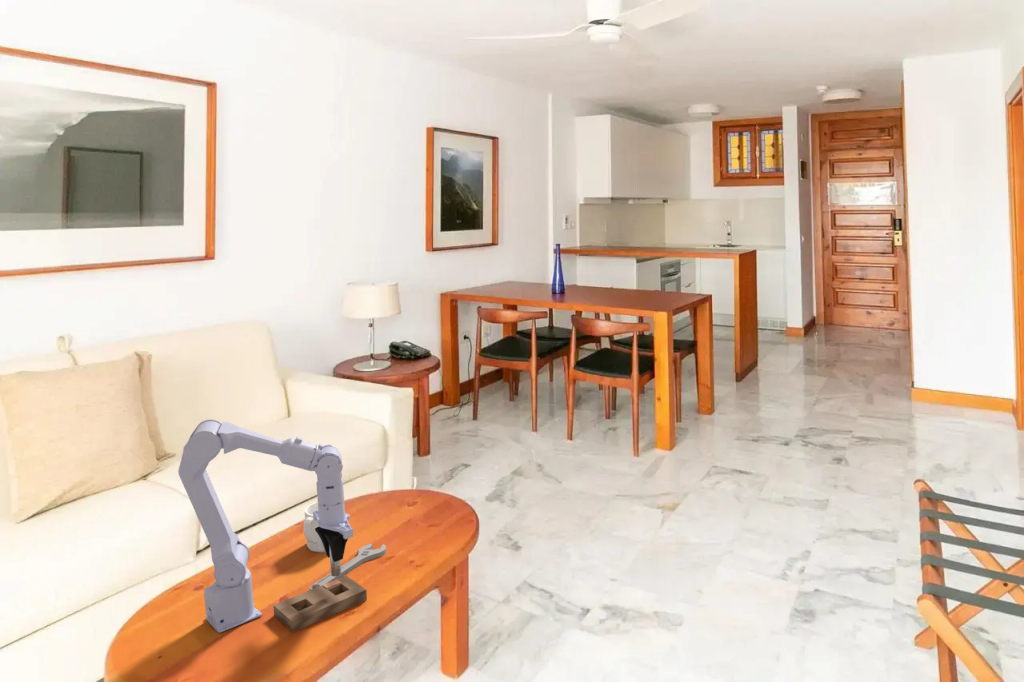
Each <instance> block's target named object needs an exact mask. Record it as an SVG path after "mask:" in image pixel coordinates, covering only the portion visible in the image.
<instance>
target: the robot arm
mask: <svg viewBox="0 0 1024 682" xmlns="http://www.w3.org/2000/svg"><path fill="white" fill-rule="evenodd" d="M238 449H242V450H243V449H244V450H247V451H251V452H257V453H260V454H261V453H262V454H265V455H270V456H275V457H277V458H278V459H279V462H280V463H281V464H283V465H287V466H290V467H293V468H298V469H302V470H305V471H309V472H314V473H315V474H316V477H317V478H316V479H317V481H316V495H317V496H316V497H317V502H318V510H316V511H313V519H314V520H317V522H318V525H319V527H317V528H315V531H316V532H317V534H318V535H319V537H320V539H321V541H322V543H323V546H324V549H325V552H324V553H325V555H326V557H327V558H328V559H330V551H329V546H330V549H331V555H332V559H333V561H334V562H336V561H339V560H340V561H342V560H343V559H344V555H345V550H346V545H347V542H348V540H349V539H351V538H352V537H354V528H353V527H351V525H350V522H349V521H348V520H349V519H350V518H351V515H350V514H348V513H346V509H345V507H346V506H345V493H344V492H345V490H344V479H343V473H342V471H343V467H344V465H343V462H342V454H341V453H340V450H339V449H338V448H336V447H335V446H333V445H331V444H322V443H319V445H317V444H314V443H310V442H307V441H303V438H302V437H300V436H296V438H293V437H289V438H287V439H285V440H279V439H277V438H273V437H270V436H267V435H264V434H261V433H258V432H255V431H253V430H249V429H246V428H243V427H240V426H237V425H235V424H233V423H230V422H227V421H226V422H225V421H222V422H221V421H219V420H217V419H212V418H210V419H205V420H202V421H201V422H200V423H198V425H197V426H196V427H195V429H194V430H193V431H192V433H191V434H190V436H189V438H188V441H187V442H186V443H185V445H184V446H183V449H182V455H181V460H180V463H179V467H178V471H177V472H178V476H179V478H180V481H181V484H182V485H183V488H184V490H185V492H186V495H187V496H188V499H189V501H190V503H191V505H192V508H193V509H194V513H195V514H196V517H197V519H198V521H199V524H200V525H201V528H202V530H203V533H204V535H205V537H206V539H207V542H208V544H209V546H210V552H211V553H210V554H211V561H212V563H213V566H214V571H213V577H214V579H215V581H214V582H213V583H212V584H210V585H209V586H207V587H206V588H204V592H203V596H204V606H205V612H206V614H205V615H206V616H205V620H206V621H207V622H208V623H209V624H210V625H211V627H213V629H214V630H215V631H216V632H217V633H223V632H226V631H228V630H231V629H232V628H235V627H238V626H241V625H242V624H244V623H247V622H249V621H252V620H254V619H255V620H256V619H257V618H260V617H262V615H263V614H262V612H261V611H260V610H259V609H257V607H256V606H255V601H254V591H253V581H252V580H253V579H252V578H253V577H252V573H251V571H250V569H249V568H248V566H247V564H248V561H249V558H250V549H249V547H248V546H247V544H245V543H243V542H242V541H241V540H240V538H239V535H238V534H237V533H235V532H234V531H233V529H232V527H231V525H230V523H229V520H228V517H227V515H226V513H225V510H224V508H223V506H222V503H221V501H220V499H219V497H218V495H217V492H216V490H215V487H214V486H213V483H212V480H211V478H210V476H209V473H208V472H207V467H208V466H209V463H211V461H212V460H214V459H215V458H216V457H217V456H218V455H219V454H220V452H221V450H223V455H225V454H228V453H231V452H233V451H235V450H238Z"/></svg>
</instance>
